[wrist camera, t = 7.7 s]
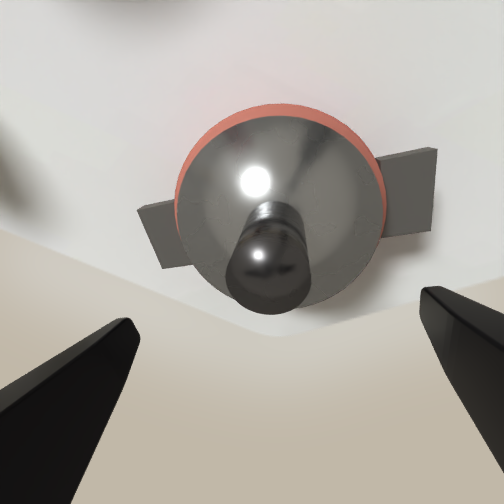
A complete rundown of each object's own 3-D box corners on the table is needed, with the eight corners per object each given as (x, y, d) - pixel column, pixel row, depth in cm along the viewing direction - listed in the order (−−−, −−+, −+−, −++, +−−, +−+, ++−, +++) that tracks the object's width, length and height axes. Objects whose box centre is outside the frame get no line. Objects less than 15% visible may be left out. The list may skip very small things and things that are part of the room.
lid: (375, 87, 11) (451, 59, 6) (378, 290, 16) (422, 375, 11) (154, 144, 14) (69, 161, 8) (213, 307, 18) (182, 383, 13)
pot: (404, 72, 15) (453, 52, 10) (399, 253, 20) (431, 291, 15) (146, 141, 18) (102, 148, 14) (198, 279, 24) (177, 316, 19)
